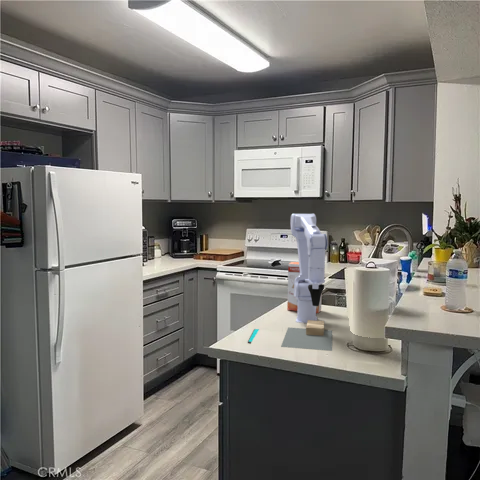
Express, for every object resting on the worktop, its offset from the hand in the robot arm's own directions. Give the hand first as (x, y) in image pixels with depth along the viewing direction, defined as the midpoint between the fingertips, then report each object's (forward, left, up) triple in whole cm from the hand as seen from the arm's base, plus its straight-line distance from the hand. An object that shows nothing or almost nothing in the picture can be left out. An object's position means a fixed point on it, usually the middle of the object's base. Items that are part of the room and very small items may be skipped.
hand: (315, 305), depth 149 cm
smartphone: (+10, -18, -10) cm, 23 cm away
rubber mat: (+9, -2, -10) cm, 14 cm away
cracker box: (-31, -6, -10) cm, 33 cm away
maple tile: (+5, 0, -8) cm, 10 cm away
